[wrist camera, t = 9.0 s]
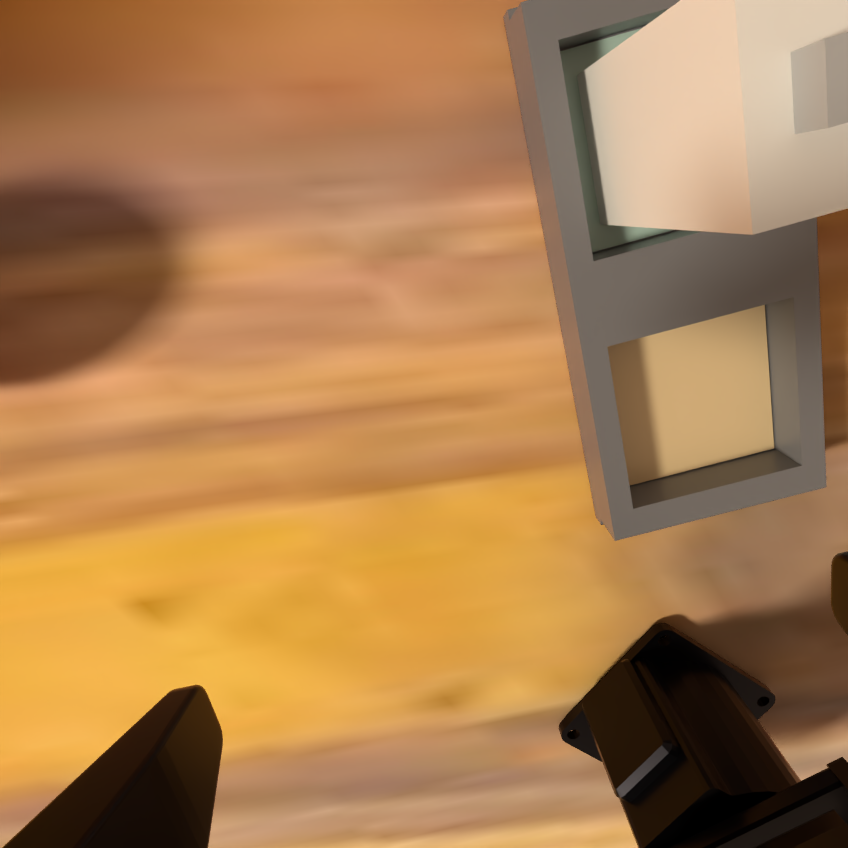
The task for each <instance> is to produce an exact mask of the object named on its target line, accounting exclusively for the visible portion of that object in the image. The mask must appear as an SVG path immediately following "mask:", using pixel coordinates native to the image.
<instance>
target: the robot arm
mask: <svg viewBox="0 0 848 848" xmlns="http://www.w3.org/2000/svg"><path fill="white" fill-rule="evenodd" d="M831 606H832V610H833V613H834V616H835V617H836V619H837V621H838V623H839V624H840V625H841V627H842V628H843V629H844V631H845V632H846V634H847V635H848V552H843V553H839V554H837V555H836V556H835V557H834V558H833V560H832V565H831ZM663 635H666V636H665V637H664V638H663V639H659V638H660V637H662V636H663ZM774 703H775V696H774V694H773V693H772V692H771V691H770V689H769V688H768V687H767V686H766V685H764V684H763V683H761V682H759V681H758V680H756V679H755V678H753V677H751V676H750V675H748V674H747V673H745V672H743V671H742V670H740V669H739V668H737V667H736V666H734V665H732V664H731V663H729V662H728V661H726V660H724V659H723V658H721V657H720V656H718V655H716V654H715V653H713V652H712V651H710V650H709V649H707V648H705V647H704V646H702V645H701V644H699V643H697V642H696V641H694V640H693V639H691V638H689V637H688V636H686V635H685V634H683V633H682V632H680V631H678V630H677V629H675V628H674V627H672V626H670V625H669V624H666V623H659V624H656V625H654V626H653V627H652V628H651V629H650V630H649V631H648V632H647V633H646V634H645V635H644V636H643V637H642V638H641V639H640V640H639V641H638V642H637V643H636V644H635V645H634V646H633V647H632V648H631V649H630V651H629V652H628V653H627V654H626V655H625V656H624V657H623V658H622V659H621V660H620V661H619V662H618V663H617V664H616V665H615V666H614V667H613V668H612V669H611V670H610V671H609V672H608V673H607V674H606V676H605V677H604V678H603V679H602V680H601V681H600V682H599V683H598V684H597V685H596V686H595V687H594V688H593V689H592V690H591V691H590V692H589V693H588V694H587V695H586V696H585V697H584V698H583V700H582V701H581V702H580V703H579V704H578V705H577V706H576V707H575V708H574V709H573V710H572V711H571V712H570V713H569V714H568V715H567V716H566V717H565V718H564V719H563V720H562V721H561V723H560V724H559V731H560V734H561V737H562V739H563V741H565V742H566V743H568V744H570V745H571V746H573V747H575V748H577V749H579V750H581V751H583V752H584V753H586V754H588V755H590V756H592V757H594V758H596V759H597V760H599V761H601V762H603V764H604V767H605V770H606V772H607V775H608V777H609V780H610V783H611V785H612V788H613V790H614V793H615V795H616V796H617V797H618V798H619V799H620V802H621V804H622V807H623V809H624V812H625V814H626V817H627V820H628V822H629V825H630V827H631V830H632V833H633V835H634V838H635V840H636V843H637V845H638V848H848V762H847V761H846V760H845V759H844V758H843V757H841V758H839V759H837V760H835V761H833V762H831V763H829V764H827V767H828V768H827V769H825V770H823V771H821V772H819V773H817V774H815V775H813V776H811V777H808V778H806V779H804V780H802V781H801V780H800V779H799V777H798V776H797V775H796V773H795V772H794V770H793V769H792V768H791V766H790V765H789V763H788V762H787V761H786V759H785V758H784V756H783V755H782V754H781V752H780V751H779V749H778V748H777V747H776V745H775V744H774V742H773V741H772V740H771V738H770V737H769V736H768V734H767V733H766V731H765V730H764V729H763V727H762V726H761V724H760V723H759V722H758V719H759V718H760V717H761V716H762V715H763V714H764V713H765V712H766V711H768V710H769V709H770V708H771V707H772V706H773V704H774ZM574 729H575V730H574ZM571 730H573V731H571ZM222 745H223V737H222V730H221V726H220V724H219V721H218V719H217V717H216V714H215V712H214V709H213V707H212V705H211V702H210V700H209V697H208V695H207V693H206V691H205V689H204V688H203V687H202V686H199V685H193V686H188V687H183V688H178V689H174V690H172V691H170V692H169V693H168V694H167V695H166V696H164V697H163V698H162V699H161V700H160V701H159V702H158V703H157V704H156V705H155V706H154V707H153V708H152V709H151V710H149V711H148V712H147V713H146V714H145V715H144V716H143V717H142V718H141V719H140V720H139V721H138V722H137V723H136V724H134V725H133V726H132V727H131V728H130V729H129V730H128V731H127V732H126V733H125V734H124V735H123V736H122V737H120V738H119V739H118V740H117V741H116V742H115V743H114V744H113V745H112V746H111V747H110V748H109V749H108V750H107V751H105V752H104V753H103V754H102V755H101V756H100V757H99V758H98V759H97V760H96V761H95V762H94V763H93V764H92V765H90V766H89V767H88V768H87V769H86V770H85V771H84V772H83V773H82V774H81V775H80V776H79V777H78V778H76V779H75V780H74V781H73V782H72V783H71V784H70V785H69V786H68V787H67V788H66V789H65V790H64V791H63V792H61V793H60V794H59V795H58V796H57V797H56V798H55V799H54V800H53V801H52V802H51V803H50V804H49V805H48V806H46V807H45V808H44V809H43V810H42V811H41V812H40V813H39V814H38V815H37V816H36V817H35V818H34V819H32V820H31V821H30V822H29V823H28V824H27V825H26V826H25V827H24V828H23V829H22V830H21V831H20V832H19V833H17V834H16V835H15V836H14V837H13V838H12V839H11V840H10V841H9V842H8V843H7V844H6V845H5V846H3V847H2V848H208V843H209V837H210V830H211V823H212V816H213V809H214V802H215V795H216V788H217V781H218V774H219V767H220V760H221V753H222Z"/></svg>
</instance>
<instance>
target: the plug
mask: <svg viewBox="0 0 848 848" xmlns="http://www.w3.org/2000/svg"><path fill="white" fill-rule="evenodd" d="M577 81H578V87H579V93H580V100H581V106H582V112H583V118H584V125H585V131H586V137H587V144H588V150H589V156H590V162H591V169H592V175H593V181H594V188H595V194H596V200H597V207H598V213H599V219H600V225H615V226H630V227H645V228H659V229H674V230H689V231H704V232H718V233H733V234H748V235H754V234H758V233H761V232H765V231H768V230H772V229H776V228H779V227H783V226H786V225H790V224H794V223H797V222H801V221H804V220H808V219H812V218H815V217H819V216H823V215H826V214H830V213H833V212H837V211H841V210H844V209H848V0H680V1H679V2H677V3H676V4H675V5H673V6H672V7H671V8H669V9H668V10H666V11H665V12H664V13H662V14H661V15H660V16H658V17H657V18H655V19H654V20H653V21H651V22H650V23H649V24H647V25H646V26H644V27H643V28H642V29H640V30H639V31H638V32H636V33H635V34H633V35H632V36H631V37H629V38H628V39H627V40H625V41H624V42H622V43H621V44H620V45H618V46H617V47H616V48H614V49H613V50H611V51H610V52H609V53H607V54H606V55H604V56H603V57H602V58H600V59H599V60H598V61H596V62H595V63H593V64H592V65H591V66H589V67H588V68H587V69H585V70H584V71H582V72H581V73H580V74H578V75H577Z"/></svg>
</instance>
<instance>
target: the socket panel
mask: <svg viewBox="0 0 848 848" xmlns="http://www.w3.org/2000/svg"><path fill="white" fill-rule="evenodd" d="M679 1H680V0H527V1H524V2H521V3H520V4H519V6H518V7H516V8H513V9H509V10H507V12H506V13H505V15H504V23H505V28H506V33H507V39H508V44H509V50H510V55H511V60H512V66H513V71H514V77H515V82H516V87H517V93H518V98H519V104H520V109H521V115H522V120H523V125H524V131H525V136H526V142H527V147H528V152H529V158H530V163H531V169H532V174H533V179H534V185H535V190H536V196H537V201H538V206H539V212H540V217H541V223H542V228H543V233H544V239H545V244H546V250H547V255H548V260H549V266H550V271H551V277H552V282H553V288H554V293H555V298H556V304H557V309H558V315H559V320H560V325H561V331H562V336H563V342H564V347H565V352H566V358H567V363H568V369H569V374H570V379H571V385H572V390H573V396H574V401H575V406H576V412H577V417H578V423H579V428H580V433H581V439H582V444H583V450H584V455H585V461H586V466H587V471H588V477H589V482H590V488H591V493H592V498H593V504H594V509H595V515H596V518H597V519H598V521H599V522H600V524H601V525H603V524H604V525H605V527H606V528H607V530H608V531H609V533H610V534H611V536H612V537H613V538H614V540H615V541H616V540H620V539H624V538H628V537H632V536H636V535H640V534H644V533H648V532H652V531H655V530H659V529H663V528H667V527H671V526H675V525H679V524H683V523H687V522H691V521H695V520H699V519H703V518H707V517H711V516H715V515H719V514H722V513H726V512H730V511H734V510H738V509H742V508H746V507H750V506H754V505H758V504H762V503H766V502H770V501H774V500H778V499H782V498H785V497H789V496H793V495H797V494H801V493H805V492H809V491H813V490H817V489H821V488H825V487H826V463H825V435H824V407H823V379H822V351H821V323H820V295H819V267H818V239H817V217H815V218H812V219H808V220H804V221H801V222H797V223H794V224H790V225H786V226H783V227H779V228H776V229H772V230H768V231H765V232H761V233H758V234H754V235H748V234H733V233H718V232H704V231H689V230H674V229H659V228H645V227H630V226H615V225H600V219H599V213H598V207H597V200H596V194H595V188H594V181H593V175H592V169H591V162H590V156H589V150H588V144H587V137H586V131H585V125H584V118H583V112H582V106H581V100H580V93H579V87H578V81H577V75H578V74H580V73H581V72H582V71H584V70H585V69H587V68H588V67H589V66H591V65H592V64H593V63H595V62H596V61H598V60H599V59H600V58H602V57H603V56H604V55H606V54H607V53H609V52H610V51H611V50H613V49H614V48H616V47H617V46H618V45H620V44H621V43H622V42H624V41H625V40H627V39H628V38H629V37H631V36H632V35H633V34H635V33H636V32H638V31H639V30H640V29H642V28H643V27H644V26H646V25H647V24H649V23H650V22H651V21H653V20H654V19H655V18H657V17H658V16H660V15H661V14H662V13H664V12H665V11H666V10H668V9H669V8H671V7H672V6H673V5H675V4H676V3H677V2H679Z"/></svg>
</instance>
